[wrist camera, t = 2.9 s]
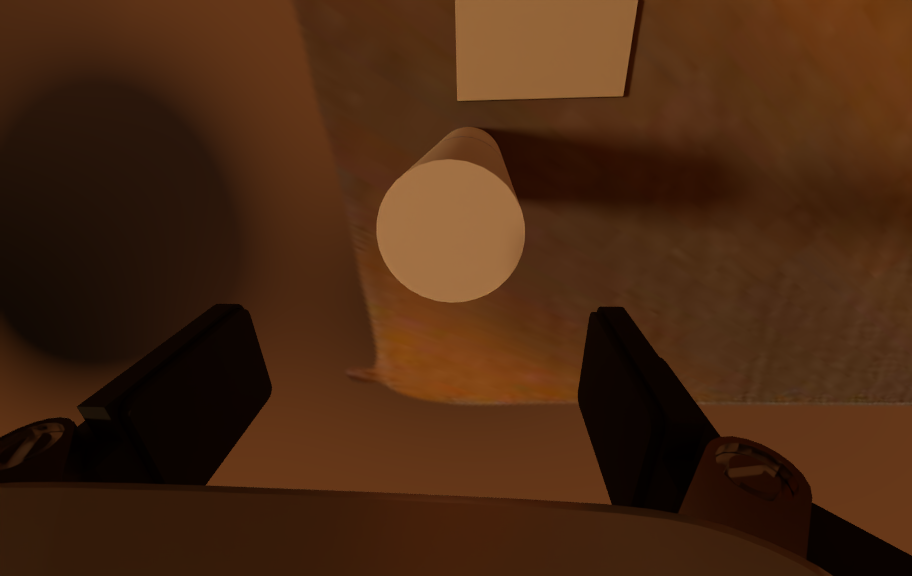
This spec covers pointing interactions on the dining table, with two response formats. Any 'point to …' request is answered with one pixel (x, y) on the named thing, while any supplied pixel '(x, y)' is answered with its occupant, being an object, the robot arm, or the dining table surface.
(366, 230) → the dining table surface
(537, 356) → the dining table surface
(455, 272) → the cylindrical container
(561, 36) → the mat
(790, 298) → the dining table surface
